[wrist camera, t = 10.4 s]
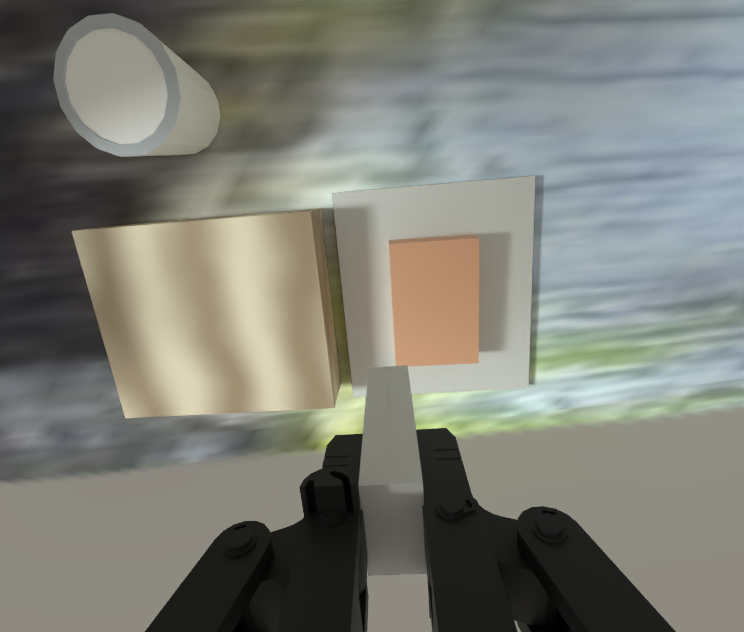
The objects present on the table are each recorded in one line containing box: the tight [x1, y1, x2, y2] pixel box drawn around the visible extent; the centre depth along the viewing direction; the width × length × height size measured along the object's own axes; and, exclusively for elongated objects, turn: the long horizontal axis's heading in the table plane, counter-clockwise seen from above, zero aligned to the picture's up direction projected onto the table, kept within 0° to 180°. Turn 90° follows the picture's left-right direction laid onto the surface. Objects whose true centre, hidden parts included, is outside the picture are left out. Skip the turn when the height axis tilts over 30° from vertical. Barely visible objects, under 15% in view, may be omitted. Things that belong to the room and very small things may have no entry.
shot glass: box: [53, 13, 221, 157], centre depth 25 cm, size 7×7×7 cm
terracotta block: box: [389, 235, 479, 366], centre depth 30 cm, size 6×9×2 cm, turn 4°
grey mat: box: [332, 176, 535, 397], centre depth 31 cm, size 14×16×1 cm
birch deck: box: [72, 209, 341, 418], centre depth 31 cm, size 16×14×4 cm
